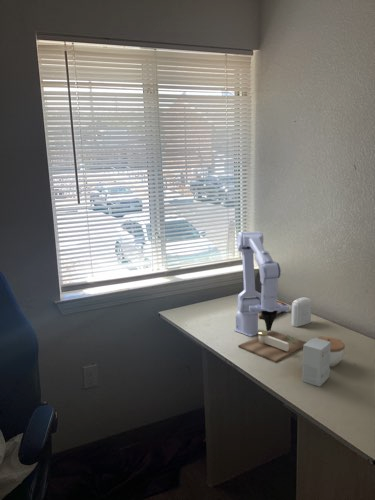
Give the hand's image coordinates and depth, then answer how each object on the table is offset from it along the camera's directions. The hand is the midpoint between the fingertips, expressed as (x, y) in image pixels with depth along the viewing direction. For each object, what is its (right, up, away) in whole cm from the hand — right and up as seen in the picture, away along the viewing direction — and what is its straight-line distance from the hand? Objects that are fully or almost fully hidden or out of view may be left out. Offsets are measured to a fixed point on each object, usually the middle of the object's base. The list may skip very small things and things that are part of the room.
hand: (268, 329), depth 153 cm
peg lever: (+3, -8, +8) cm, 12 cm away
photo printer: (+21, -4, +33) cm, 39 cm away
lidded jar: (+21, -11, -4) cm, 24 cm away
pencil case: (+11, -2, +46) cm, 47 cm away
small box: (+13, -14, -16) cm, 24 cm away
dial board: (+4, -9, +10) cm, 14 cm away
